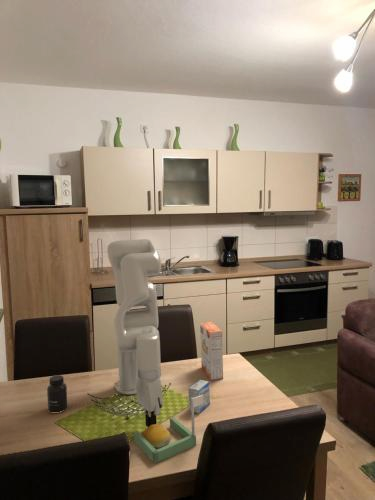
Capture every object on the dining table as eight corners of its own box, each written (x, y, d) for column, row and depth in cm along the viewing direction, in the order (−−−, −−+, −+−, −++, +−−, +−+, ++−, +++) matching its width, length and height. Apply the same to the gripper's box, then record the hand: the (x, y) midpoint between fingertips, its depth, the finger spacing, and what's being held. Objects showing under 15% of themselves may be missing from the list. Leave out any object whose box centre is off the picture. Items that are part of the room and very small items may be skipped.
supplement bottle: (49, 416, 136) (47, 383, 135) (46, 407, 142) (44, 376, 141) (69, 411, 139) (67, 379, 138) (66, 402, 146) (64, 372, 144)
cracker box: (200, 367, 174) (199, 322, 171) (213, 365, 175) (212, 321, 173) (209, 381, 160) (208, 332, 158) (223, 379, 162) (222, 330, 159)
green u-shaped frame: (134, 440, 121) (132, 395, 119) (181, 421, 131) (180, 379, 129) (154, 463, 110) (153, 413, 108) (205, 440, 120) (204, 394, 118)
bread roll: (150, 452, 115) (150, 439, 115) (139, 437, 123) (139, 425, 122) (175, 443, 119) (175, 431, 118) (163, 429, 127) (163, 417, 126)
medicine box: (199, 414, 135) (198, 390, 134) (188, 410, 137) (188, 387, 136) (210, 404, 142) (209, 381, 141) (199, 401, 144) (199, 379, 143)
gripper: (128, 367, 128) (130, 419, 130) (150, 383, 116) (152, 441, 118) (148, 361, 132) (150, 412, 134) (171, 377, 120) (173, 432, 122)
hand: (151, 425), depth 126 cm, fingers closed
